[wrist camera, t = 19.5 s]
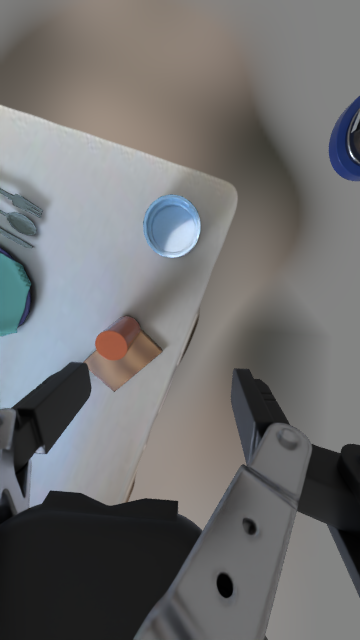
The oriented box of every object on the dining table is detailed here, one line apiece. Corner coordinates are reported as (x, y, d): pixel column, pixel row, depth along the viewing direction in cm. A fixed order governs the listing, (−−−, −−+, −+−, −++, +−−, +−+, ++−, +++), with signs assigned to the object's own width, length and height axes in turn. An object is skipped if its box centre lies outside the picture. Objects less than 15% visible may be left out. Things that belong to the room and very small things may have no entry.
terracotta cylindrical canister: (139, 316, 41) (126, 331, 33) (141, 341, 42) (128, 361, 34) (113, 315, 41) (93, 330, 33) (115, 340, 43) (97, 360, 35)
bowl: (200, 200, 34) (201, 193, 31) (199, 257, 37) (199, 257, 34) (147, 201, 35) (141, 194, 31) (149, 257, 38) (144, 257, 34)
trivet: (129, 317, 42) (128, 319, 41) (162, 350, 44) (161, 352, 43) (84, 361, 46) (81, 363, 45) (115, 389, 48) (114, 392, 47)
